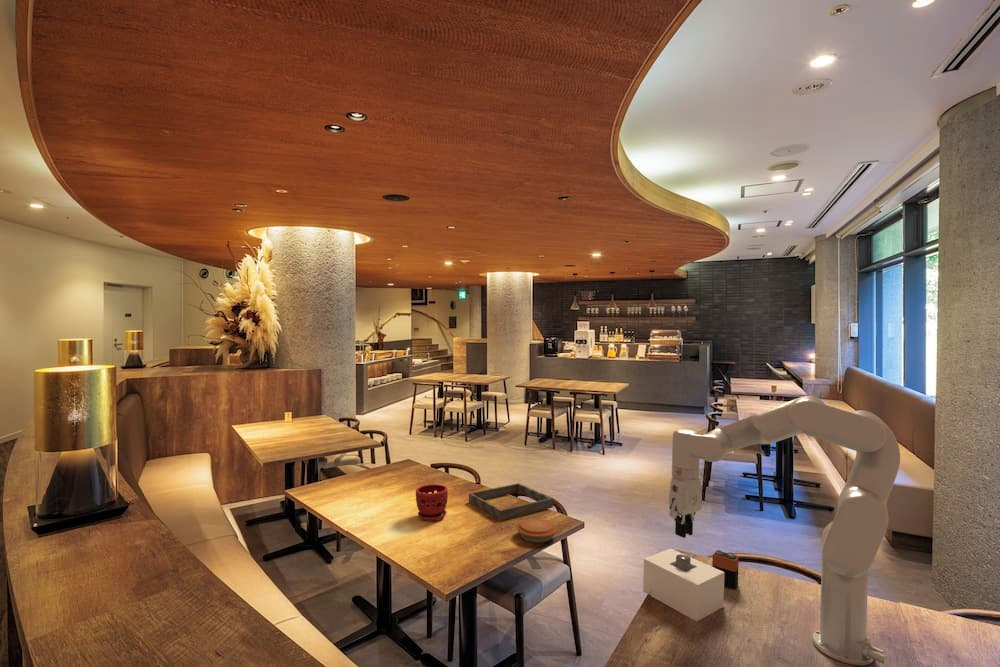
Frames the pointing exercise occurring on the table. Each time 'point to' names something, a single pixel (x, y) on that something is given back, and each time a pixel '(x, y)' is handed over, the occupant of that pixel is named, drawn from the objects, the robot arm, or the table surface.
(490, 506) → the open rectangular frame
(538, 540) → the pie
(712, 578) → the socket block
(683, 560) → the peg
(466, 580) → the table surface
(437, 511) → the plant pot
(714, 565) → the battery
